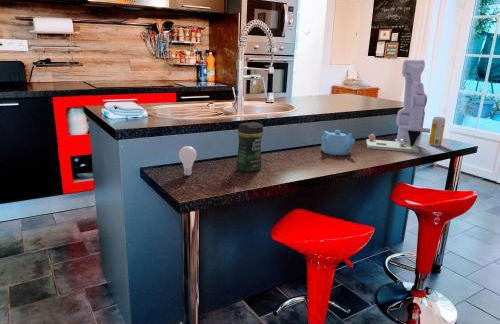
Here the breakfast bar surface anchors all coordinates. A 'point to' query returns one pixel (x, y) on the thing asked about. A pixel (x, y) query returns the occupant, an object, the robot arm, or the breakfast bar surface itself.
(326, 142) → the teapot
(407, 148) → the hole plate
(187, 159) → the lightbulb
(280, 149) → the breakfast bar surface
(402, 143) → the steel ball
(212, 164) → the breakfast bar surface
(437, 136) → the beer can
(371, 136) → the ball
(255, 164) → the coffee jar
